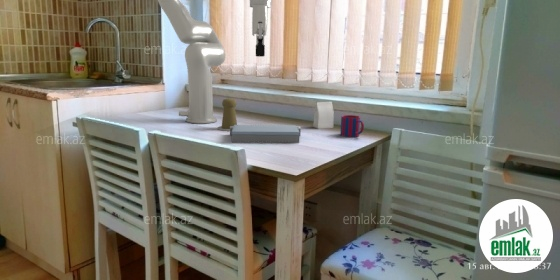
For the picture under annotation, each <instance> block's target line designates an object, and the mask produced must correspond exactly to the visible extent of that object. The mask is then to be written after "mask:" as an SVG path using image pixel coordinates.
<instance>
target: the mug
mask: <svg viewBox="0 0 560 280" xmlns="http://www.w3.org/2000/svg"><path fill="white" fill-rule="evenodd" d="M340 119H341V120H340V133H339V134H340V136H342V137H345V138H358V137H359V136H360V135H361V134H362V133H363V132H364V128H365V123H364V121H363V120H361V116H359V115H352V114H343V115H341V116H340Z"/></svg>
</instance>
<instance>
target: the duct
mask: <svg viewBox="0 0 560 280" xmlns="http://www.w3.org/2000/svg"><path fill="white" fill-rule="evenodd" d="M233 127H234V126H230V131H229V135H230V136H231V143H264V144H265V143H271V144H272V143H273V144H274V143H276V144H278V143H284V144H285V143H286V144H287V143H289V144H292V143H293V144H294V143H295V144H296V143H297V144H299V143H300V137H301V134H302V133H301V130H302V129H301V126H297V128H298V130H299V132H300V135H232V129H233Z"/></svg>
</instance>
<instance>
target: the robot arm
mask: <svg viewBox="0 0 560 280" xmlns="http://www.w3.org/2000/svg"><path fill="white" fill-rule="evenodd" d="M187 1H192V0H187ZM157 2H158V4H159V6H160V8H161V9H162V11H163V12H164V14H165V16H167V19H168V20H169V22H170V24H171V26H172V28H173V30H174V32H175V34H176V35H177V38H178V39H179V41H180V42H181V43H183V44H184V45H185V44H186V45H187V46H186V48H185V51H184V58H185V63H186V67H187V79H188V80H187V81H188V82H187V83H188V105H189V107H188V109H189V110H186V111H183V110H179V111H178V116H179V117H186V118H185V121H186V123H189V124H212V123H215V122H217V121H218V117H216V116H214V106H213V105H214V104H213V103H214V99H213V95H214V94H213V75H212V72H211V70H210V68H209V67H218V66H221V65H222V64H223V63H225V61H226V50H225V48H224V46H223V43H222V42H221V40H220V39H219V36H218V35H217V33H216V31H215V29H214V28H213V26H212V25H211V24H210V23H209V22H207V21H203V20H196V19H194V18H193V17H192V16H191V14H190V12H189V10H188V8H187V7H186V6H185V5H184V4H183V3H182V2H181V1H180V0H157ZM249 8H252V12H251V15H252V16H251V23H252V24H251V29H252V31H251V32H252V34H251V35H252V36H253V37H256V40H255V41H256V43H255V57H259V58H260V57H262V58H263V57H265V54H266V52H265V50H266V49H265V47H266V46H265V36H266V35H267V33H268V32H267V30H268V18H269V17H268V13H269V12H268V10H269V9H270V8H272V0H249ZM255 35H256V36H255Z"/></svg>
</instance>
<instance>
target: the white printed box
mask: <svg viewBox="0 0 560 280" xmlns="http://www.w3.org/2000/svg"><path fill="white" fill-rule="evenodd" d="M333 107H334V106H333V101H317V102H316V105H315V107H314V111H313V128H316V129H317V130H320V129H331V128H332V129H333V128H334V122H335V121H334V120H335V118H334V117H335V112H334V108H333Z"/></svg>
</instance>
